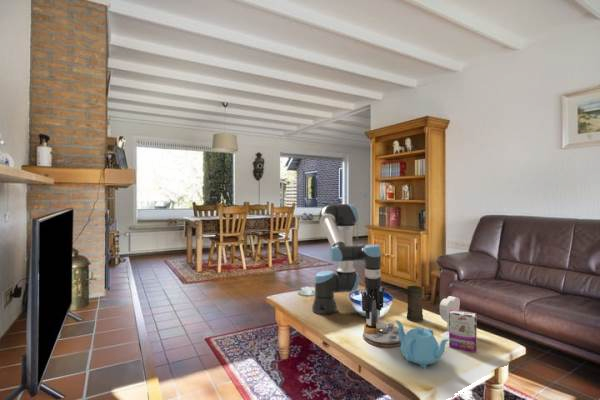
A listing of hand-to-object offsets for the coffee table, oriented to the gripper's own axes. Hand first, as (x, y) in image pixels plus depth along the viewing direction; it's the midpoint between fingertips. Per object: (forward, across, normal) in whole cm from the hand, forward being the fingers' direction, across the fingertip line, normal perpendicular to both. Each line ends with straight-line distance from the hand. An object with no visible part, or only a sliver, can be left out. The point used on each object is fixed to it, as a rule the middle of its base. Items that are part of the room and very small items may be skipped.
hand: (372, 323), depth 161 cm
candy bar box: (+8, +28, -29) cm, 41 cm away
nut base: (+7, +4, -3) cm, 9 cm away
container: (+9, +38, +6) cm, 39 cm away
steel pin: (+4, 0, +1) cm, 4 cm away
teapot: (+7, +2, -27) cm, 28 cm away
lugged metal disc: (+6, +5, -3) cm, 8 cm away
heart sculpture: (+8, +37, -16) cm, 41 cm away
